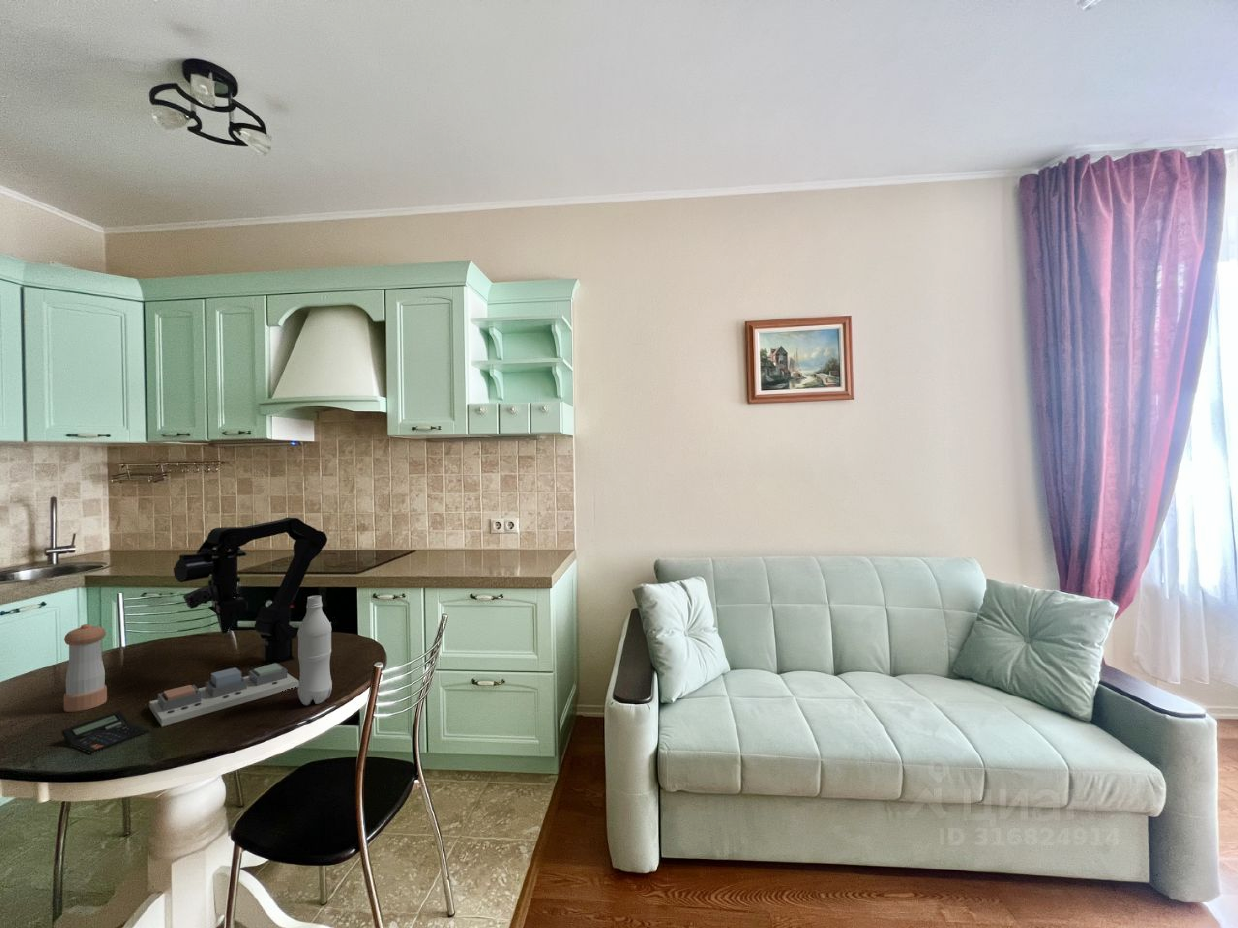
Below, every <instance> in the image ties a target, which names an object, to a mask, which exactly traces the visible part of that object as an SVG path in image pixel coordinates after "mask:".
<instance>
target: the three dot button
mask: <svg viewBox="0 0 1238 928" xmlns="http://www.w3.org/2000/svg"><path fill="white" fill-rule="evenodd" d="M163 693H164V699H165V700H166V701H168V700H172V699H175V698H179V697H183V696H187V695H191V694H194V693H196V690H195V689H194V688H193V687H192V684H189V685H185V686H180V687H175V688H172V689H167V690H164V691H163Z"/></svg>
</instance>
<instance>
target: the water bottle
mask: <svg viewBox="0 0 1238 928" xmlns="http://www.w3.org/2000/svg"><path fill="white" fill-rule="evenodd" d="M322 598H323V597H322V595H311V596H307V600H306V602H307V603H306V606H305V609H306V613H305V616H304V617H303V619H302V620H301V623H300V625H299V626H298V629H297V631H298V632H297V635H296V637H297V657H298V666H299V680H298V681H299V686H298V687H297V695H298V699H299V700H300V703H301V704H303V706H309V705H310V704H311V702H312V701H314V703H315V705H319V704H321V703H323V702H325V700H326V699H329V697H330V695H331V693H332V689H333V687H332V686H333V681H332V678H331V671H330V659H331V654H332V626H331V623H330V621H329V619H328V618H327V616H326V614H325V613H324V611H323V606H324V604H323V601H322Z"/></svg>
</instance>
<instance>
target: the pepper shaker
mask: <svg viewBox="0 0 1238 928" xmlns="http://www.w3.org/2000/svg"><path fill="white" fill-rule="evenodd" d="M105 637H106V630H105V628H104V627H102V626H98V625H90V623H89V624H88V623H85V624H82V625H81V626H80V627H78V628H75V629H72V630H71V631H68V632H67V633H66V634H65V636H64V639H63V641H64V643H65V644H66V645H68V665H67V670H66V674H65V693H64V694H63V711H64V712H66V713H67V712H69V713H70V712H71V713H72V712H81V711H86V710H90V709H92V708H96V707H99V706H100V705H103V704H105V703H107V701H108V700H107V699H108V695H107V694H108V688H107V687H108V686H107V685H106V684H105V682H106V681H105V679H106V671H105V670H106V669H105V666H104V662H103V658H102V657H103V655H102V639H104V638H105Z"/></svg>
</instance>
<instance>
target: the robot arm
mask: <svg viewBox="0 0 1238 928" xmlns="http://www.w3.org/2000/svg"><path fill="white" fill-rule="evenodd" d="M282 534H287V535H288V536H289V538H291V539H292V540H294V543H293V553H294V554H293V558H292V560H291V562H290V565H289V567H288V569H287V570H286V573H285V575H284V578H282V582H281V584H280V586H279V587H278V590H277V592H276V593H275V597H274V599H273V601H272V602H271V603H270V604H269V605H268V606H267V607H266V606H261V607H260V608H259V611H258V614H257V616H256V617H255V618H254V621H255V623H254V628H255V630H256V632H257V633H258V634H259V636H260V638H261V639H263V640H264V644H263V646H262V661H264V662H265V663H267V665H271V664H275V663H276V664H280V663H282V662H283V663H284V662H286V661H290V660H293V659H295V658H296V656H294V655H293V640H294V639H296V637H297V633H298V629H296V628H295V627H294V626H292V625H290V622H291V618H292V611H291V610H292V608H291V606H292V604H293V602H294V601H295V600H294V599H295V598H296V596H297V594H298V591H299V589H300V586H301V584H302V583H303V581H304V578H305V576H306V574H307V572H308V569H309V567H310V565H311V562H312V561H313V560H314V559H315V558H316V557H317V556H318V555H319V554H321V552H322V551H323V549H324V547H325V546H326V544H327V541H328V537H327V535H326V533H325V532H324V531H322V530H318V529H316V528H315V527H313V526H310V525H309V524H307V523H305V522H303V521H302V520H301V519H299V518H297V517H285V518H281V519H277V520H273V521H267V522H262V523H258V524H257V523H256V524H252V525H247V526H230V527H229V526H226V527H225V526H224V527H215V528H212V529H211V530H210V532H208V534H207V536H206V539H205V541H204V542H203V544H201V546H200V548H199V549H197V551H196V553H190V554H189V553H188V554H185V553H183V554H179V555H178V560H177V561H176V563H175V565H174V567H173V574H174V577H175V579H176V581H177V582H178V583H185V582H192V581H196V580H202V579H207V578H209V577H210V578H209V579H208V580H207V585H205V586H201V587H199V588H197V589H194V590H192V591H191V592H188V593H186V594H184V595H183V596H182V598H183V600H184V602H185V603H186V605H187V608H189V609H196V608H197V607H199V606H201V605H203V604H204V605H207V604H208V603H209V602H211V606H208V607H207V609H209V610H210V611H211V612H213V613H215V616H216V618H217V622H218V626H219V627H220V628H219V629H220V631H221V633H222V634H224V635H225V634H227V633H228V632H229V630H230V628H231V627H232V625H233V622H234V620H235V618H236V616H237V615H238V613H239V611H246V610H248V609H249V601H248V600H246V599H245V598H243V597H242V596H241V593H240V592H239V591H238V590H239V589H238V583H239V582H241V578H240V577H238V557H242V556H243V557H244V556H246V555H247V552H245V551H243V550H242V549H241V548H240V547H242V546H245V545H247V544H248V543H249V542H252V541H254V540H259V539H264V538H268V537H272V536H276V535H282Z"/></svg>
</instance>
